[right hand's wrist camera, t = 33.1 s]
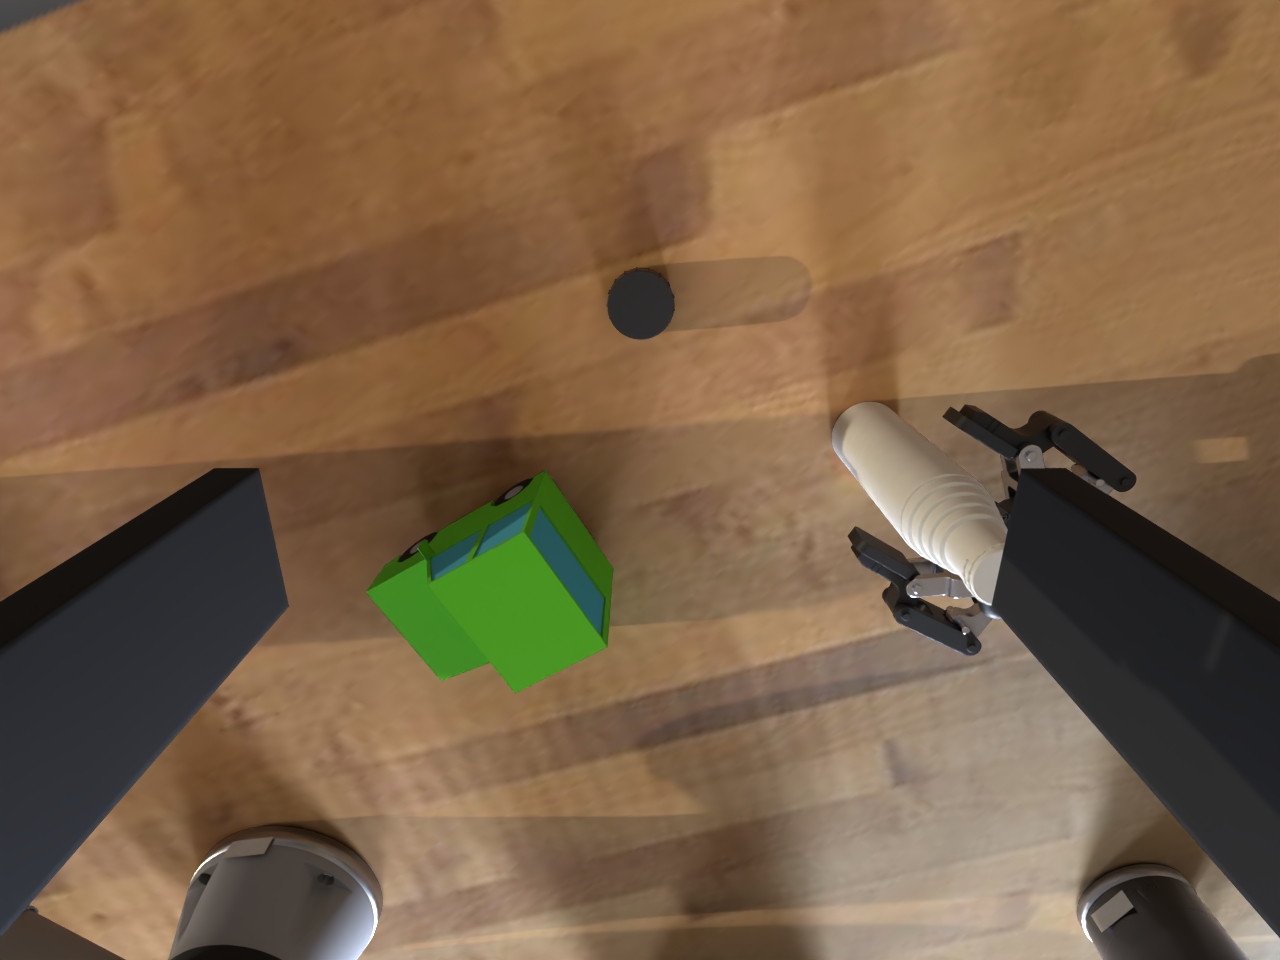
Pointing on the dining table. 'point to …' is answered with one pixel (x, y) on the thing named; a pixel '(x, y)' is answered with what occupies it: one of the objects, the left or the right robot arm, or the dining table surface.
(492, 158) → the dining table surface
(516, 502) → the toy car
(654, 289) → the cap
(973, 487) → the bottle
